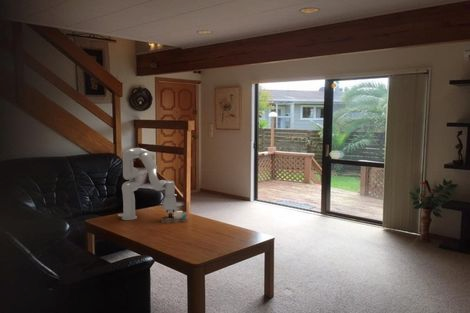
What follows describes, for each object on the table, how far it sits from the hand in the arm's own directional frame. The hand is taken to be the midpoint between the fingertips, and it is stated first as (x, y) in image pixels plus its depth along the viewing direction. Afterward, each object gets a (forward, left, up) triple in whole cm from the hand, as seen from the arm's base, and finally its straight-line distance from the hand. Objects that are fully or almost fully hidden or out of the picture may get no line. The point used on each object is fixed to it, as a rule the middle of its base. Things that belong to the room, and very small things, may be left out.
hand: (170, 217), depth 320 cm
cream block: (+6, 0, -1) cm, 6 cm away
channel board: (+3, 0, -3) cm, 4 cm away
